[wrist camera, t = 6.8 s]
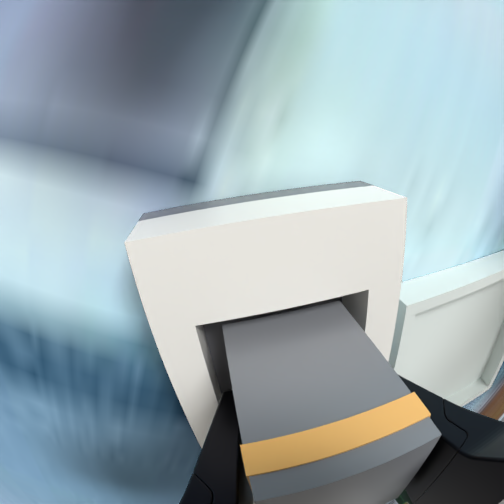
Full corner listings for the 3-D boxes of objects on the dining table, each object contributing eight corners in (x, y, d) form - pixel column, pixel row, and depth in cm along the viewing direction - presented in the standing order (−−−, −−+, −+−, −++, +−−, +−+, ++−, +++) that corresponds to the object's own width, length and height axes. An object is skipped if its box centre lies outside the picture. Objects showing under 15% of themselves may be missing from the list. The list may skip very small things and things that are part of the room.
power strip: (143, 213, 10) (116, 253, 7) (360, 180, 11) (423, 203, 7) (237, 491, 18) (245, 530, 15) (334, 468, 19) (350, 504, 16)
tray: (520, 244, 14) (538, 253, 13) (478, 376, 19) (490, 388, 17) (385, 286, 13) (406, 305, 11) (359, 434, 18) (368, 452, 16)
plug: (336, 380, 12) (398, 497, 6) (238, 403, 11) (268, 539, 6) (340, 298, 10) (444, 432, 5) (220, 324, 10) (251, 501, 4)
